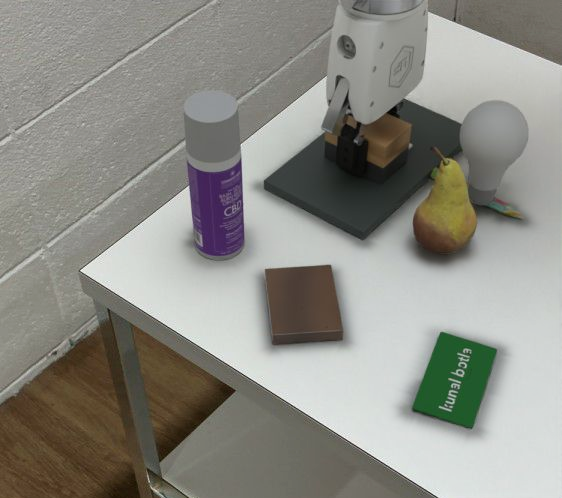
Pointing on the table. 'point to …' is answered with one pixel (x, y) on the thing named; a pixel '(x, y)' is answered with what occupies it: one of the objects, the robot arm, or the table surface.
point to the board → (361, 190)
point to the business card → (455, 380)
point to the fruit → (445, 211)
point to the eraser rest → (303, 304)
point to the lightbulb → (491, 146)
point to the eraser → (379, 146)
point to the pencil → (495, 204)
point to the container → (215, 173)
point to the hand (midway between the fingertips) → (366, 155)
